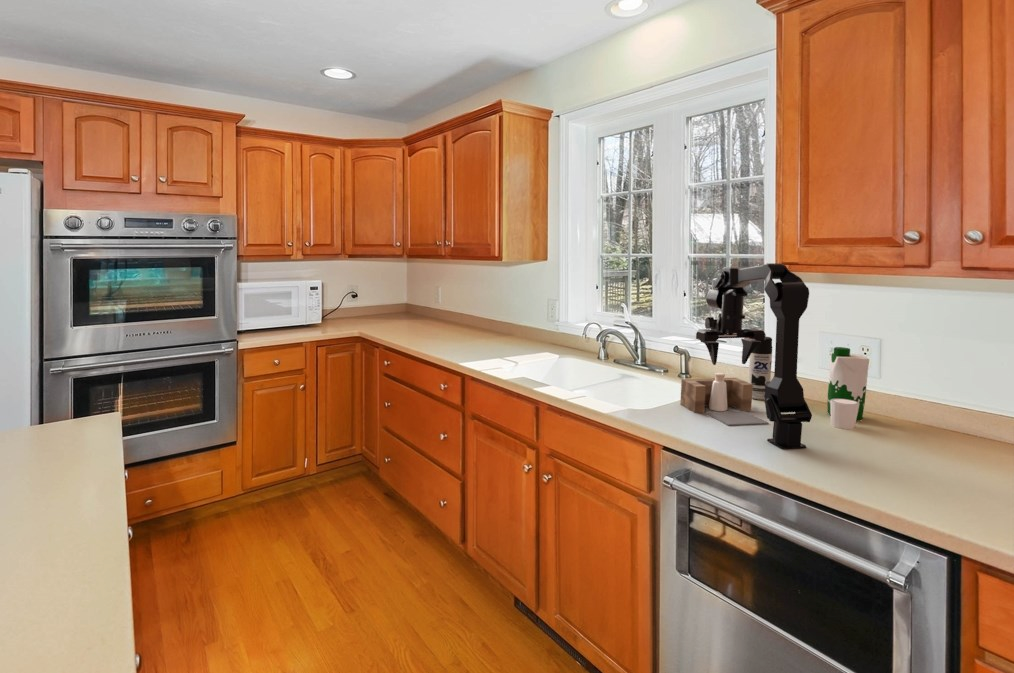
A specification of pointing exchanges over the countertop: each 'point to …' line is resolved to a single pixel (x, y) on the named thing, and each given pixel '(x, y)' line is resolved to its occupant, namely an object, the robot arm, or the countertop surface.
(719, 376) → the pepper shaker
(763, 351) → the spray can
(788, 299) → the robot arm
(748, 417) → the grey mat
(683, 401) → the wooden u-shaped block
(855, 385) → the milk carton
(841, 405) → the white cup
